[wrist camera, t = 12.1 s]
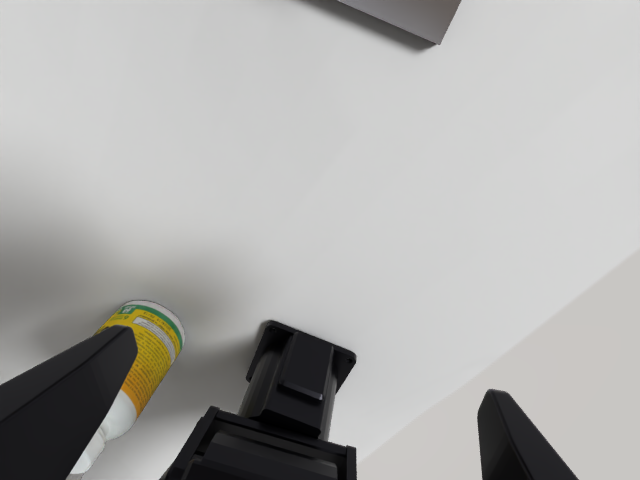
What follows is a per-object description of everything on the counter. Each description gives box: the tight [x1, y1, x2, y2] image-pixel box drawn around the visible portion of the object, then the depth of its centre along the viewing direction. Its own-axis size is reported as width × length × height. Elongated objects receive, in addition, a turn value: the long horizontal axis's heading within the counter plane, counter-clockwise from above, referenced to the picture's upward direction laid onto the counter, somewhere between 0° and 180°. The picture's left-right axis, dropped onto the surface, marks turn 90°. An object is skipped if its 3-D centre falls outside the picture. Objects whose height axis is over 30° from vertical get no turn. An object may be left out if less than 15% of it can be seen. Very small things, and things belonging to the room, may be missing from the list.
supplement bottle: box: [70, 301, 185, 474], centre depth 23 cm, size 5×5×10 cm
